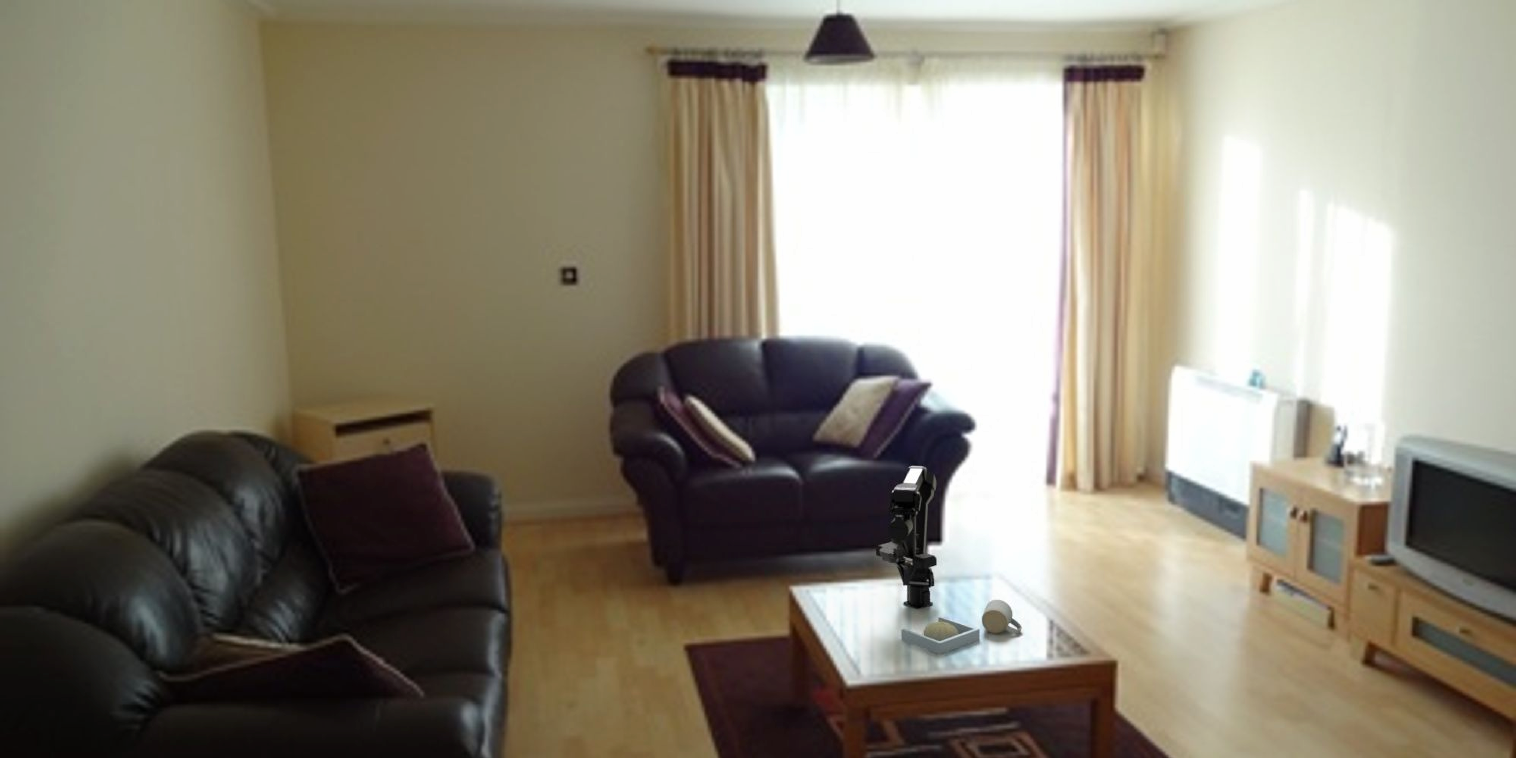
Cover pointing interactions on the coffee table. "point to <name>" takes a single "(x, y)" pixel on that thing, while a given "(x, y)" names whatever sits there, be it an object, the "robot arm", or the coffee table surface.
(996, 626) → the ceramic mug
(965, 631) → the corral
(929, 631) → the sea urchin shell
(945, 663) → the coffee table surface
